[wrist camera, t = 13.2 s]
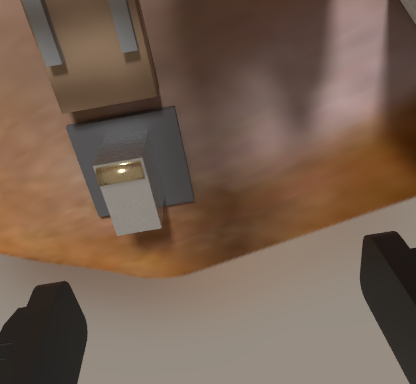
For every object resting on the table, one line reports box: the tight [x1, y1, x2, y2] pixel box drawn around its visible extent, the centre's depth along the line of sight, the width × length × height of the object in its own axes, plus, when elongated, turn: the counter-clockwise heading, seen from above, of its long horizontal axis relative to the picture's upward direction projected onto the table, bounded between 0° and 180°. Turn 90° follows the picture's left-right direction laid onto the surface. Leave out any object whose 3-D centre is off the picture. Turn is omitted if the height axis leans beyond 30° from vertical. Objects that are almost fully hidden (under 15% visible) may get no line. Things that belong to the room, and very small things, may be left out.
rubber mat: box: [66, 106, 194, 217], centre depth 39 cm, size 10×10×1 cm
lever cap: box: [93, 129, 164, 236], centre depth 35 cm, size 7×4×7 cm, turn 9°
